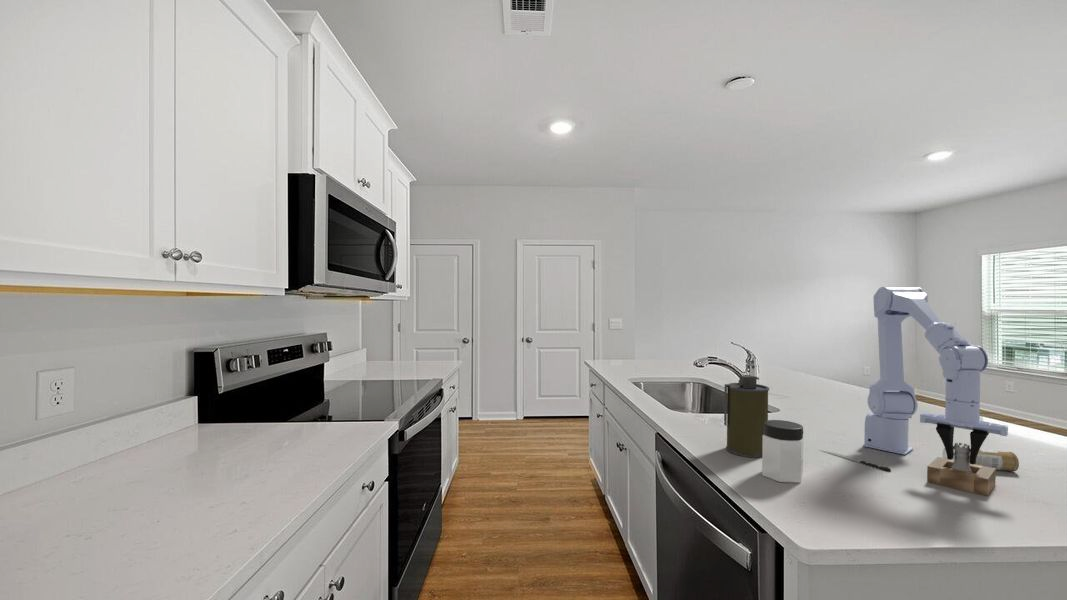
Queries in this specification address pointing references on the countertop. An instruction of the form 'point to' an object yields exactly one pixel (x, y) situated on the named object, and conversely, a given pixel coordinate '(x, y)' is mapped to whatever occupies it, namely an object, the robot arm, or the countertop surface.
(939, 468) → the bore block
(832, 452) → the chef's knife
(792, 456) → the jar
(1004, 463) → the sprinkles bottle
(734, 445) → the canister
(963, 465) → the rook chess piece
